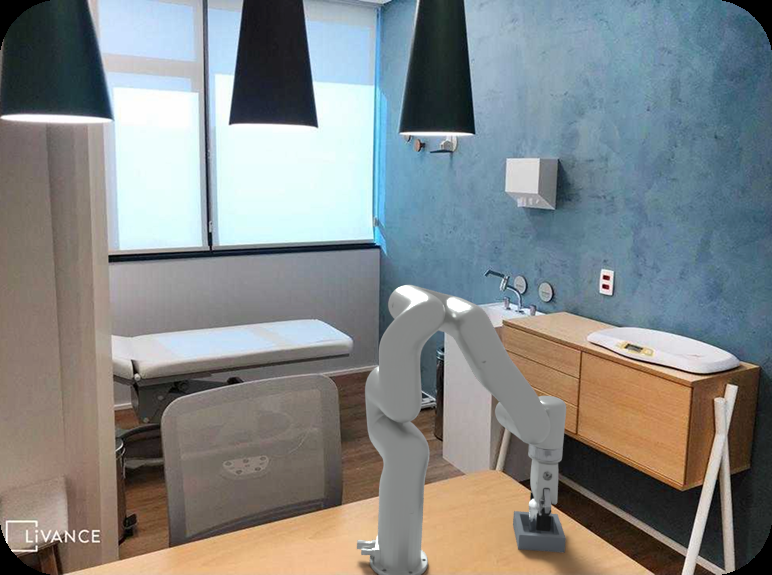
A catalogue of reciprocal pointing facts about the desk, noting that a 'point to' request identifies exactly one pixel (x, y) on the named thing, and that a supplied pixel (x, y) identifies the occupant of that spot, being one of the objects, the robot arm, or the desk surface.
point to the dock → (538, 534)
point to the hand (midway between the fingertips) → (539, 519)
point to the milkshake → (534, 516)
